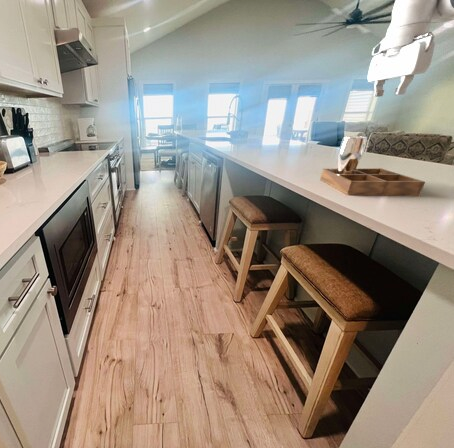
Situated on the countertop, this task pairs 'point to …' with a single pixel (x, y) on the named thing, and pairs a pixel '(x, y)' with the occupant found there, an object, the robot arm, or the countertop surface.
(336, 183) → the wooden compartment tray
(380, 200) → the countertop surface
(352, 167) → the beer glass
